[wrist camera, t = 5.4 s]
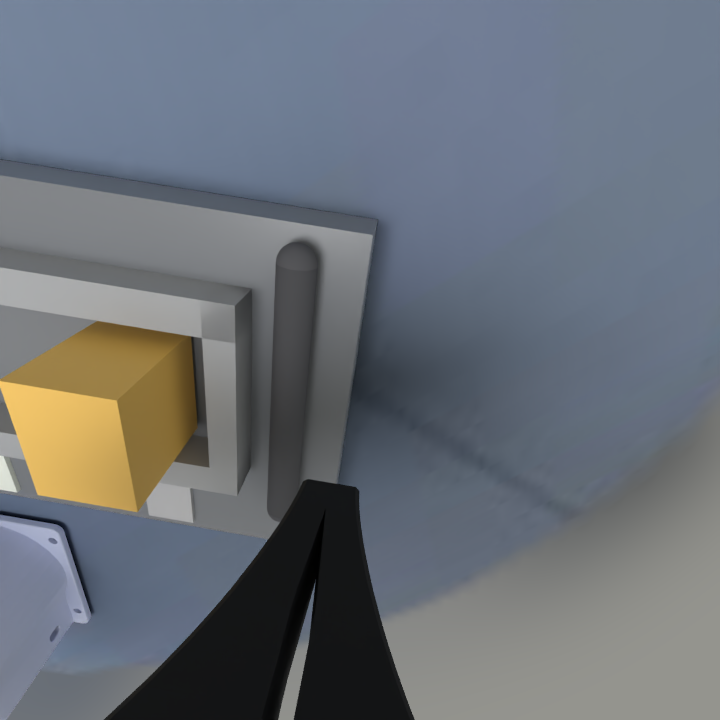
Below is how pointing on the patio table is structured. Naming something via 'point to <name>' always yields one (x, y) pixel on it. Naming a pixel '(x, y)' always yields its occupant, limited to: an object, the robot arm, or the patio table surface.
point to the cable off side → (290, 371)
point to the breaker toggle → (104, 413)
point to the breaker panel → (183, 320)
